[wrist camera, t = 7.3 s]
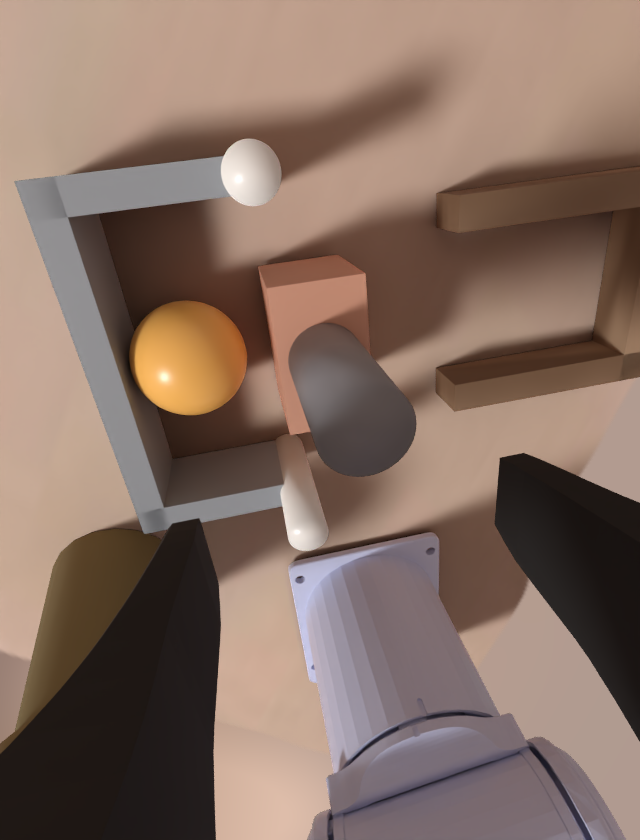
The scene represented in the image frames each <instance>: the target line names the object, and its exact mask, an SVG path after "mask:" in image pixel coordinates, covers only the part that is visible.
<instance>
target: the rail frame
mask: <svg viewBox="0 0 640 840" xmlns="http://www.w3.org/2000/svg"><path fill="white" fill-rule="evenodd" d="M608 211H613V215H612V221H611V227H610V233H609V240H608V246H607V252H606V258H605V264H604V270H603V276H602V282H601V288H600V295H599V301H598V307H597V313H596V319H595V325H594V331H593V337H592V341H587V342H581V343H575V344H569V345H564V346H558V347H552V348H547V349H541V350H535V351H530V352H524V353H518V354H513V355H507V356H501V357H496V358H490V359H484V360H478V361H473V362H467V363H461V364H456V365H450V366H444V367H439V368H436V393H437V394H438V395H439V396H440V397H441V398H442V399H443V400H444V401H445V402H446V403H447V404H448V405H449V406H450V407H451V408H452V409H453V410H454V412H455V411H460V410H466V409H471V408H476V407H482V406H487V405H493V404H498V403H503V402H509V401H514V400H519V399H525V398H530V397H535V396H541V395H546V394H551V393H557V392H562V391H567V390H573V389H578V388H583V387H589V386H594V385H600V384H605V383H610V382H616V381H621V380H626V379H632V378H637V377H640V166H637V167H629V168H622V169H614V170H607V171H600V172H592V173H585V174H577V175H570V176H562V177H555V178H548V179H540V180H533V181H525V182H518V183H511V184H503V185H496V186H488V187H481V188H473V189H466V190H459V191H451V192H444V193H437V224H436V228H439V229H444V230H448V231H452V232H456V233H463V232H470V231H477V230H484V229H491V228H498V227H505V226H511V225H518V224H525V223H532V222H539V221H546V220H553V219H560V218H567V217H574V216H580V215H587V214H594V213H601V212H608Z"/></svg>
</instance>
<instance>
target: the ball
mask: <svg viewBox="0 0 640 840" xmlns="http://www.w3.org/2000/svg"><path fill="white" fill-rule="evenodd" d="M129 362H130V369H131V372H132V375H133V378H134V380H135V382H136V384H137V386H138V387H139V389H140V390H141V391H142V393H143V394H144V395H145V396H146V397H147V398H148V399H149V400H150V401H151V402H153V403H154V404H155V405H157V406H158V407H160V408H162V409H164V410H167V411H169V412H172V413H176V414H182V415H199V414H204V413H208V412H211V411H213V410H215V409H217V408H219V407H221V406H222V405H224V404H225V403H226V402H228V401H229V400H230V399H231V398H232V397H233V396H234V395H235V394H236V392H237V391H238V389H239V387H240V386H241V384H242V382H243V379H244V376H245V373H246V367H247V352H246V347H245V343H244V340H243V338H242V335H241V333H240V331H239V330H238V328H237V327H236V325H235V324H234V323H233V322H232V321H231V320H230V319H229V317H227V316H226V315H225V314H224V313H223V312H221V311H220V310H218V309H217V308H215V307H213V306H210V305H208V304H205V303H202V302H197V301H187V300H184V301H175V302H171V303H167V304H164V305H162V306H160V307H158V308H156V309H155V310H153V311H152V312H150V313H149V314H148V315H147V316H146V317H145V318H144V319H143V320H142V321H141V322H140V324H139V325H138V327H137V328H136V330H135V332H134V335H133V337H132V339H131V343H130V350H129Z"/></svg>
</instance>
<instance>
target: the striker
mask: <svg viewBox="0 0 640 840" xmlns="http://www.w3.org/2000/svg"><path fill="white" fill-rule="evenodd" d="M258 270H259V276H260V282H261V288H262V294H263V300H264V306H265V312H266V318H267V324H268V330H269V336H270V342H271V348H272V354H273V360H274V366H275V372H276V378H277V385H278V390H279V394H280V398H281V402H282V406H283V410H284V413H285V417H286V421H287V425H288V429H289V433H290V435H295V434H300V433H305V432H311V434H312V437H313V440H314V443H315V446H316V449H317V451H318V454H319V456H320V457H321V459H322V460H323V461H324V463H325V464H326V465H327V466H328V467H330V468H331V469H333V470H334V471H336V472H338V473H341V474H344V475H348V476H355V477H363V476H370V475H374V474H377V473H380V472H382V471H384V470H386V469H388V468H390V467H391V466H393V465H394V464H395V463H397V462H398V461H399V460H400V459H401V458H402V457H403V456H404V455H405V453H406V452H407V451H408V449H409V448H410V446H411V444H412V442H413V439H414V436H415V432H416V416H415V412H414V409H413V407H412V405H411V403H410V402H409V400H408V399H407V398H406V397H405V396H404V394H403V393H402V392H401V391H400V390H399V388H398V387H397V386H396V385H395V384H394V382H393V381H392V380H391V379H390V378H389V376H388V375H387V374H386V373H385V372H384V370H383V369H382V368H381V367H380V366H379V364H378V363H377V362H376V361H375V360H374V358H373V357H372V356H371V351H370V336H369V320H368V304H367V289H366V273H364V272H363V271H361V270H360V269H358V268H357V267H355V266H354V265H352V264H351V263H349V262H348V261H346V260H345V259H343V258H342V257H341V256H339V255H331V256H324V257H317V258H310V259H303V260H297V261H290V262H283V263H276V264H269V265H262V266H258Z"/></svg>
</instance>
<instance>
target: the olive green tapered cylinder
mask: <svg viewBox="0 0 640 840" xmlns="http://www.w3.org/2000/svg"><path fill="white" fill-rule="evenodd" d="M161 541H162V540H160V539H159V538H157V537H155V536H152V535H149V534H144V533H143V532H140V531H137V530H126V529H109V530H103V531H97V532H92V533H90V534H88V535H85V536H83V537H81V538H79V539H76V540H74V541H73V542H72V543H71V544H70V545H69V546H67V547H66V548H65V549H64V550H63V551H62V552H61V553H60V554H59V556H58V558H57V560H56V562H55V564H54V566H53V569H52V574H51V578H50V582H49V587H48V591H47V595H46V599H45V604H44V608H43V612H42V617H41V621H40V625H39V629H38V634H37V638H36V642H35V647H34V651H33V655H32V660H31V664H30V668H29V672H28V677H27V681H26V685H25V690H24V694H23V698H22V703H21V707H20V711H19V716H18V720H17V724H16V728H15V732H14V733H13V734H12V735H10V736H9V737H8V738H7V739H5V740H4V741H3V742H2V743H1V744H0V754H1V753H2V752H3V751H4V750H5V749H6V748H7V747H8V746H9V745H10V744H11V743H12V742H13V740H14V739H15V738H16V737H17V736H18V735H19V734H20V733H21V732H22V731H23V730H24V729H25V727H26V726H27V725H28V724H29V723H30V722H31V721H32V720H33V719H34V718H35V716H36V715H37V714H38V713H39V712H40V711H41V710H42V709H43V708H44V707H45V706H46V704H47V703H48V702H49V701H50V700H51V699H52V698H53V697H54V695H55V694H56V693H57V692H58V691H59V690H60V689H61V687H62V686H63V685H64V684H65V683H66V681H67V680H68V679H69V678H70V676H71V675H72V674H73V673H74V671H75V670H76V669H77V668H78V667H79V665H80V664H81V663H82V661H83V660H84V659H85V658H86V656H87V655H88V654H89V652H90V651H91V650H92V648H93V647H94V646H95V644H96V643H97V642H98V640H99V639H100V638H101V636H102V635H103V633H104V632H105V630H106V629H107V628H108V626H109V625H110V623H111V622H112V620H113V619H114V617H115V616H116V614H117V613H118V612H119V610H120V609H121V607H122V606H123V604H124V603H125V601H126V600H127V598H128V597H129V595H130V593H131V592H132V590H133V588H134V587H135V585H136V584H137V582H138V580H139V579H140V577H141V576H142V574H143V572H144V571H145V569H146V567H147V566H148V564H149V562H150V560H151V559H152V557H153V555H154V553H155V552H156V550H157V548H158V546H159V545H160V543H161Z"/></svg>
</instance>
